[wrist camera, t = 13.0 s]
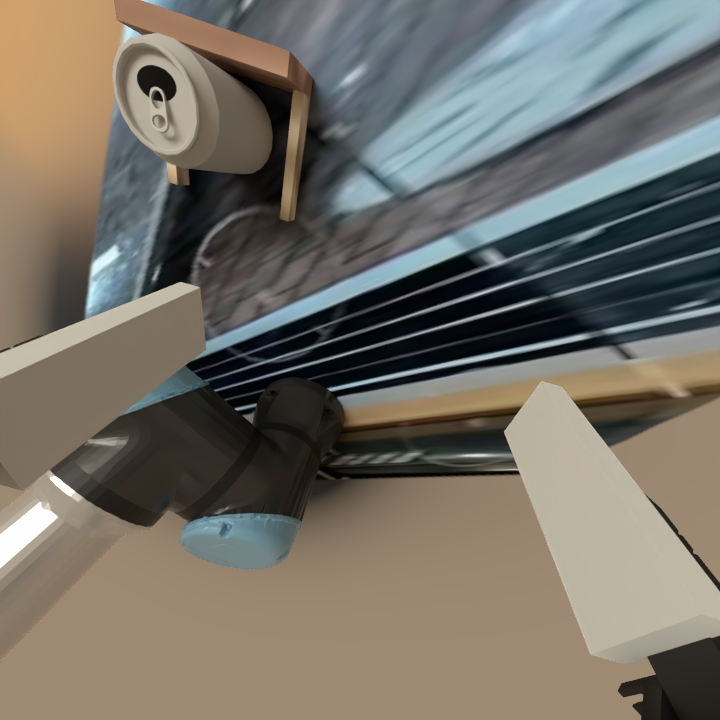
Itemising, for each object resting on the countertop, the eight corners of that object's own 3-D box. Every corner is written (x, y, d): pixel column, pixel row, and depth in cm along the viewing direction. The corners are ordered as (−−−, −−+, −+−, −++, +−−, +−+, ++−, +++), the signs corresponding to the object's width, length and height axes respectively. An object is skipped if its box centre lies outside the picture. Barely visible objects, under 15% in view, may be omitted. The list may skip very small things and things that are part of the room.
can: (274, 88, 27) (192, 25, 17) (277, 179, 31) (213, 172, 21) (202, 79, 27) (81, 13, 17) (214, 170, 31) (121, 159, 21)
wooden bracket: (294, 220, 33) (273, 225, 28) (181, 182, 33) (139, 180, 28) (313, 78, 26) (289, 51, 21) (170, 30, 26) (112, -10, 21)
